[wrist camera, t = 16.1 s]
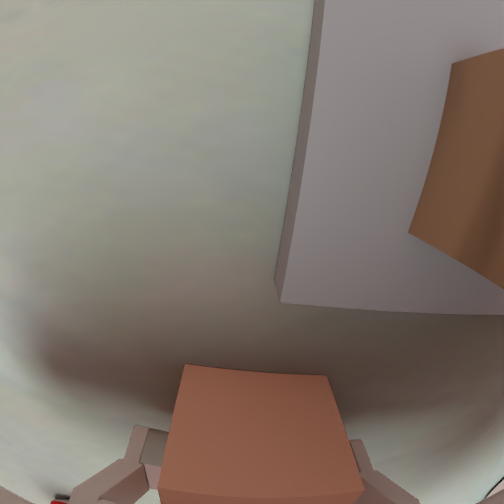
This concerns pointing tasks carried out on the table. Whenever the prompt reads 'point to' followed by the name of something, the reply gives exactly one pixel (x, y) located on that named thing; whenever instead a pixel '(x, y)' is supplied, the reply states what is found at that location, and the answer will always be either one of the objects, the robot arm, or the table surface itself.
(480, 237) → the walnut brick
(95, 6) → the table surface
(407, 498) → the robot arm
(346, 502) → the terracotta brick
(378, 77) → the base plate
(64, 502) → the beverage can
